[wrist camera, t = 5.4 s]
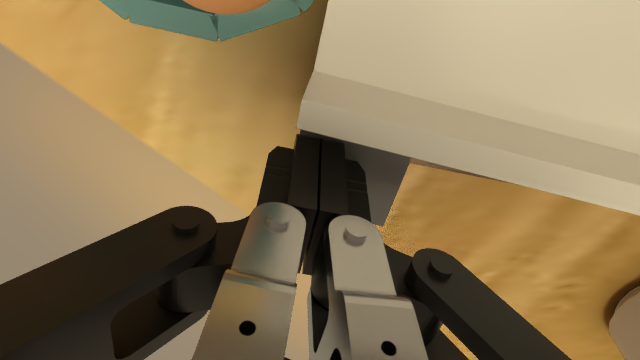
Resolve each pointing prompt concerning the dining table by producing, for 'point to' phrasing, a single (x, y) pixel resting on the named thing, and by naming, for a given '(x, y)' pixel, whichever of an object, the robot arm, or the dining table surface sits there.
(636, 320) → the can
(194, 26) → the teal round bowl
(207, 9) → the ball
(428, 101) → the cream shallow tray
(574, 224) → the dining table surface
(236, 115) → the dining table surface
